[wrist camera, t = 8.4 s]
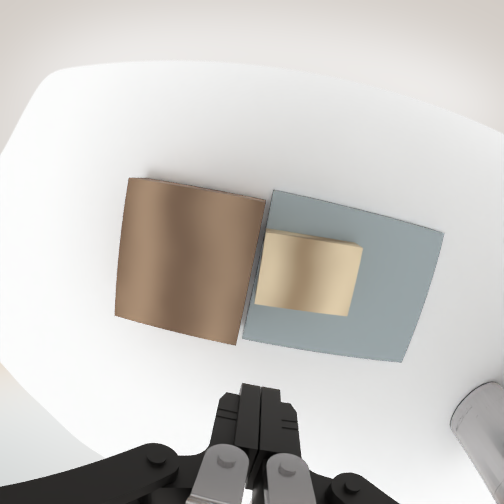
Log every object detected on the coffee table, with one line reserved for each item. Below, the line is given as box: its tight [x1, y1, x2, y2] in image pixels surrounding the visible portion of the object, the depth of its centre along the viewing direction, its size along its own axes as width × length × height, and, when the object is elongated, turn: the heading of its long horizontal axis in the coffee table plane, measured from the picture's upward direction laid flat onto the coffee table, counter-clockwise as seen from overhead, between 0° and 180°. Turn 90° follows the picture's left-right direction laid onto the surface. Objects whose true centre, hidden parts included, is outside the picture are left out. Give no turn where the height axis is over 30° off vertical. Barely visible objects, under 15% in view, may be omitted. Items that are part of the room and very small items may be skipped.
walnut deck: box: [115, 178, 266, 345], centre depth 27 cm, size 11×12×4 cm
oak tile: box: [255, 228, 363, 316], centre depth 27 cm, size 8×6×2 cm
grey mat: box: [242, 190, 444, 363], centre depth 29 cm, size 17×14×1 cm
